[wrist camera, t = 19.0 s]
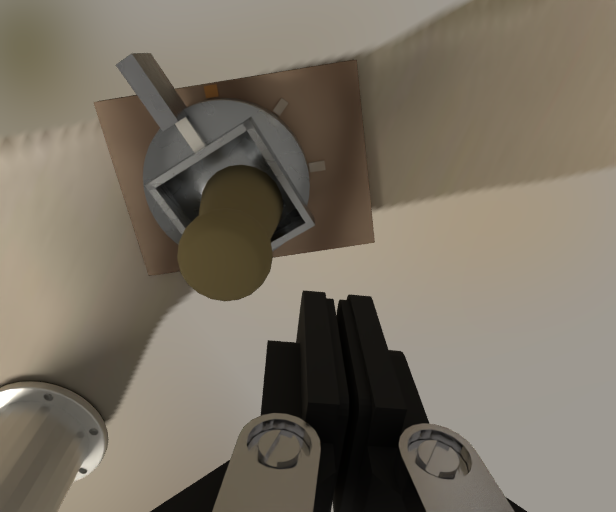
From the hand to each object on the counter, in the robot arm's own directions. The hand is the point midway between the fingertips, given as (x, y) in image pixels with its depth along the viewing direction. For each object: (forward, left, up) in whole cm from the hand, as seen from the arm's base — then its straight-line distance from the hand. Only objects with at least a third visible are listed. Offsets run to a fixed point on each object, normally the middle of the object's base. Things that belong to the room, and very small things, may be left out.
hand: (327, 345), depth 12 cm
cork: (-5, -3, -24) cm, 25 cm away
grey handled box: (-7, 0, -26) cm, 26 cm away
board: (-5, -2, -27) cm, 28 cm away
